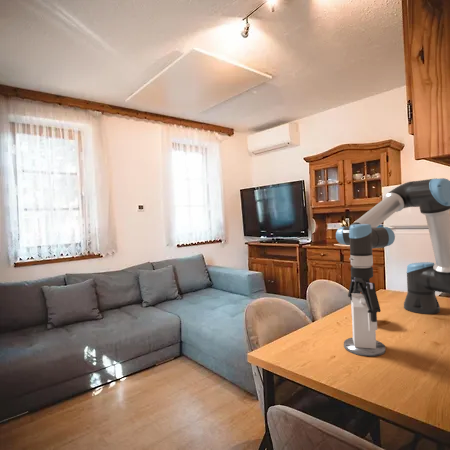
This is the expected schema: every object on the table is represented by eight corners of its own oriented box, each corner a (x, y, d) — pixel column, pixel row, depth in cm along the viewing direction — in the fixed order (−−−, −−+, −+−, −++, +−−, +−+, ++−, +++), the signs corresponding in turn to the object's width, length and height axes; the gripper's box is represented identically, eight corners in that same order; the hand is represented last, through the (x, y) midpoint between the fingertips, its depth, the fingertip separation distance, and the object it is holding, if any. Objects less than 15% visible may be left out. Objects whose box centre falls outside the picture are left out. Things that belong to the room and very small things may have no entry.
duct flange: (373, 339, 123) (373, 336, 123) (393, 355, 109) (393, 351, 109) (338, 341, 123) (338, 338, 123) (353, 357, 109) (353, 354, 109)
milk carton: (352, 339, 121) (351, 291, 120) (372, 341, 119) (371, 291, 118) (354, 347, 114) (353, 296, 113) (376, 349, 112) (374, 296, 111)
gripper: (338, 261, 127) (340, 312, 128) (367, 273, 102) (370, 337, 103) (356, 260, 127) (358, 311, 128) (390, 272, 102) (392, 335, 103)
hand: (363, 323), depth 116 cm, fingers open, 13 cm apart
